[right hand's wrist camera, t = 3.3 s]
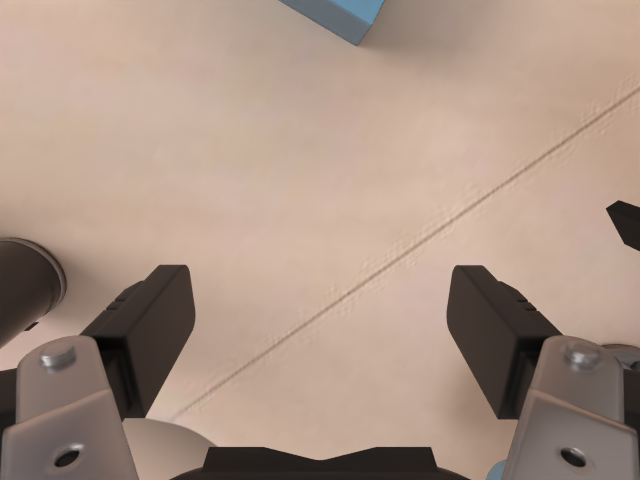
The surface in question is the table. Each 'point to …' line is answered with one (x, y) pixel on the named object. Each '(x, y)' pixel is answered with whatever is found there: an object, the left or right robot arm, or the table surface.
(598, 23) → the table surface
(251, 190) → the table surface
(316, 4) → the chest
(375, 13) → the lid
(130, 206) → the table surface
